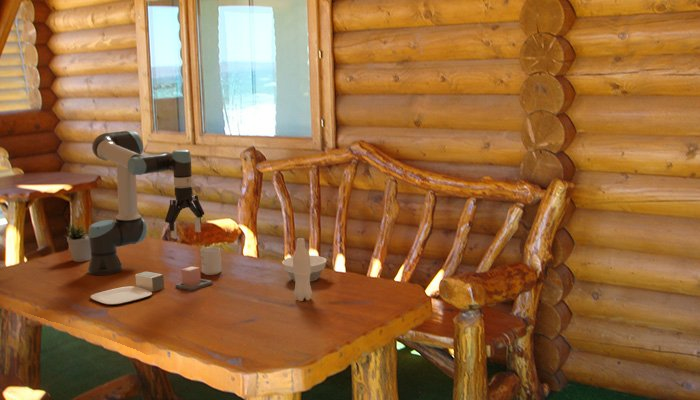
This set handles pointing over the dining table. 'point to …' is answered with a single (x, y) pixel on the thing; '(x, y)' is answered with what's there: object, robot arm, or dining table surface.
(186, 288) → the stub tray
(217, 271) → the mug
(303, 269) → the water bottle
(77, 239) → the potted plant
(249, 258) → the dining table surface
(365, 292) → the dining table surface
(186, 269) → the stub
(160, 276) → the grey-panelled beige block
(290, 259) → the bowl
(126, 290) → the plate
